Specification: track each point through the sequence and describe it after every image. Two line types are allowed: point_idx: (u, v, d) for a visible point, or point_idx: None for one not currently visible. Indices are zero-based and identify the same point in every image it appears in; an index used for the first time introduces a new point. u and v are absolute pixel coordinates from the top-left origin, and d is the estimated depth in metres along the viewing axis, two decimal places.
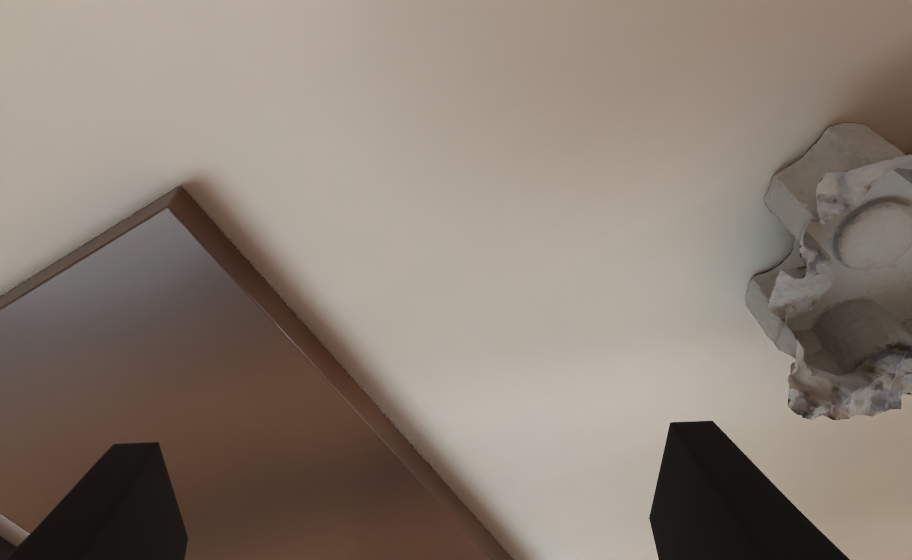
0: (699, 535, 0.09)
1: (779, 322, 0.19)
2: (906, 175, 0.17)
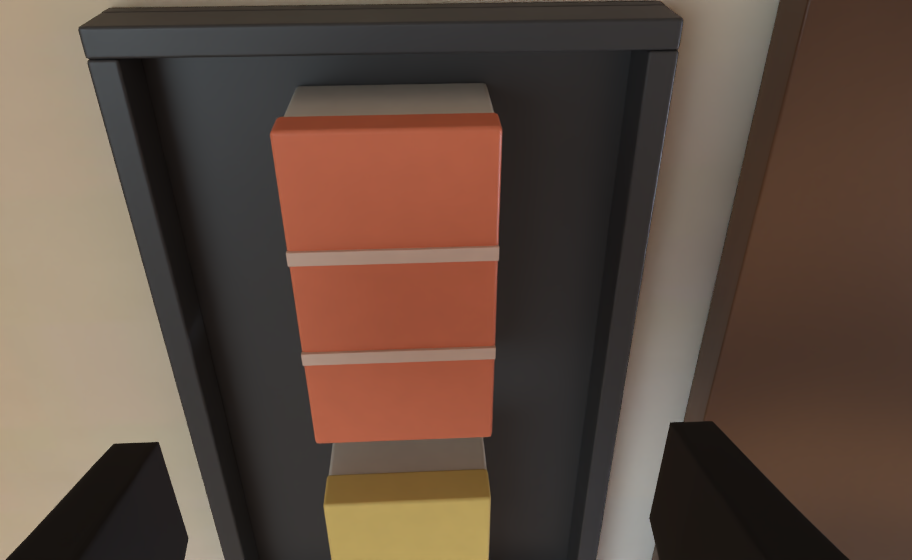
0: (700, 535, 0.09)
1: None
2: None
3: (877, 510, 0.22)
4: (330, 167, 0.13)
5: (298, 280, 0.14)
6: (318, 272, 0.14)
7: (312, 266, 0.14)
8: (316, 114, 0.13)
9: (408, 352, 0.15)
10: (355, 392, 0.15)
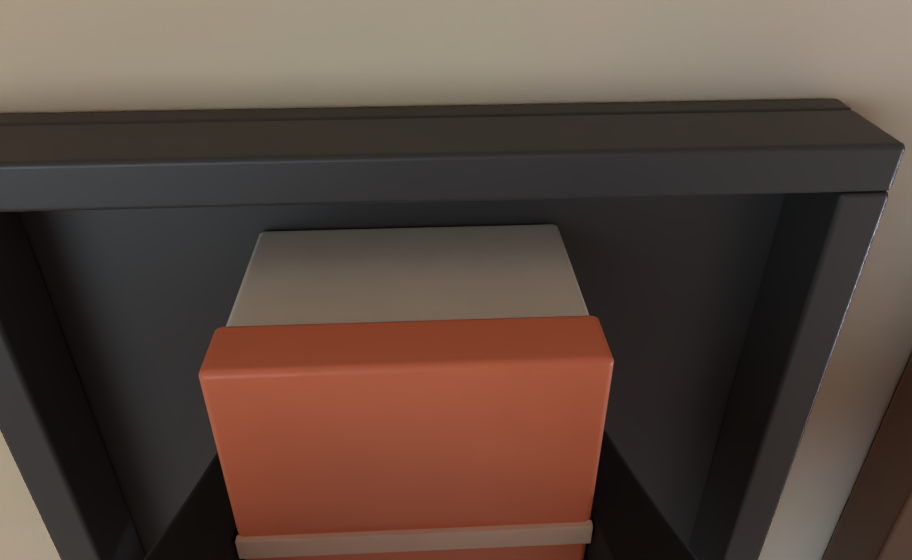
0: None
1: None
2: None
3: None
4: (308, 423, 0.07)
5: None
6: None
7: (283, 555, 0.08)
8: (287, 306, 0.08)
9: None
10: None
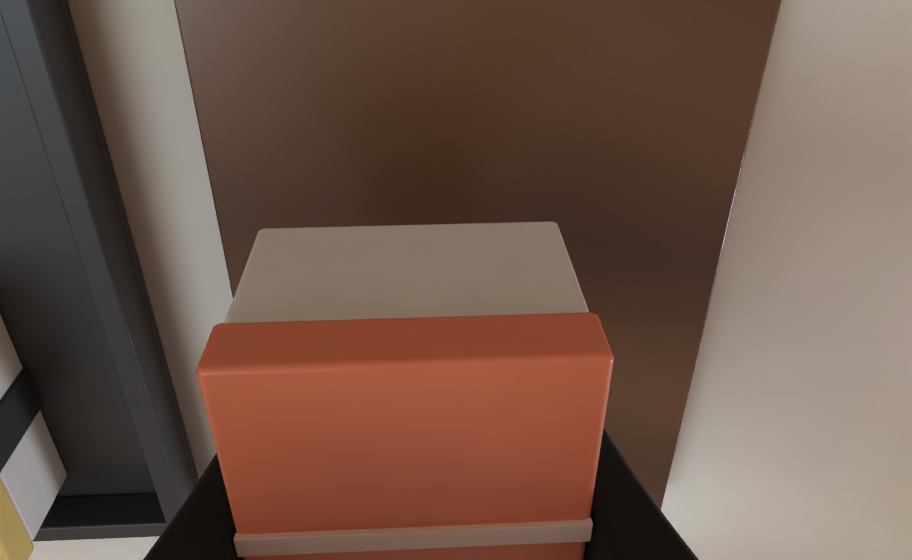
0: None
1: None
2: None
3: None
4: (306, 420, 0.07)
5: None
6: None
7: (280, 552, 0.08)
8: (285, 303, 0.08)
9: None
10: None
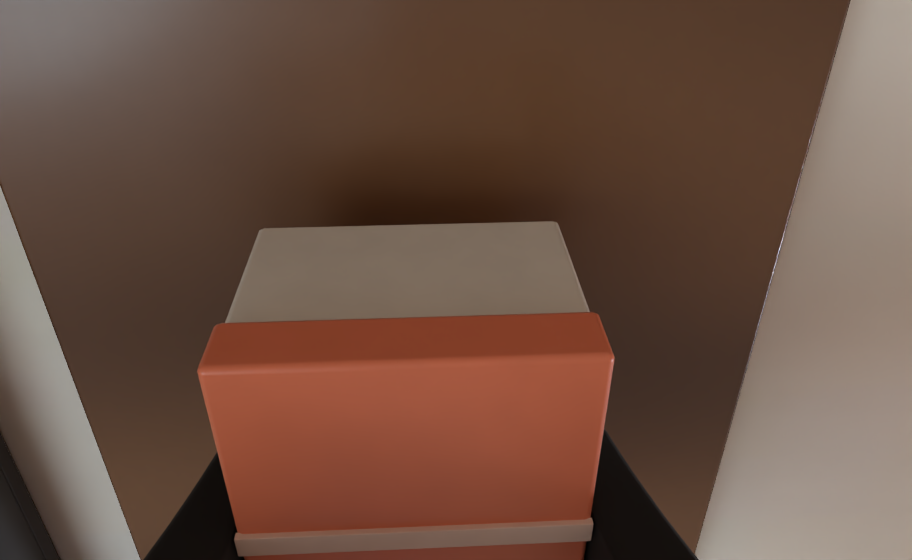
0: None
1: None
2: None
3: None
4: (308, 420, 0.07)
5: None
6: None
7: (281, 552, 0.08)
8: (286, 302, 0.08)
9: None
10: None
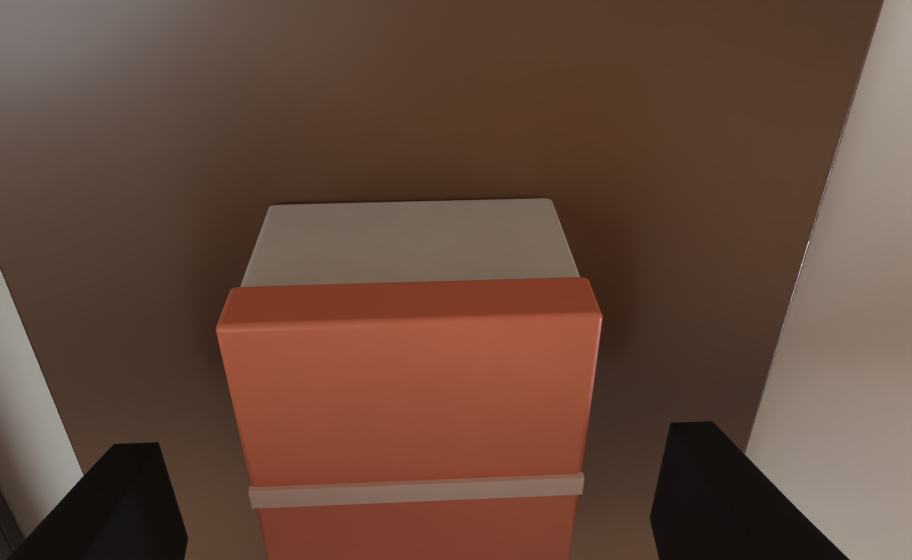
0: (699, 534, 0.09)
1: None
2: None
3: None
4: (318, 376, 0.08)
5: (269, 523, 0.09)
6: (300, 513, 0.09)
7: (292, 505, 0.09)
8: (296, 270, 0.09)
9: None
10: None
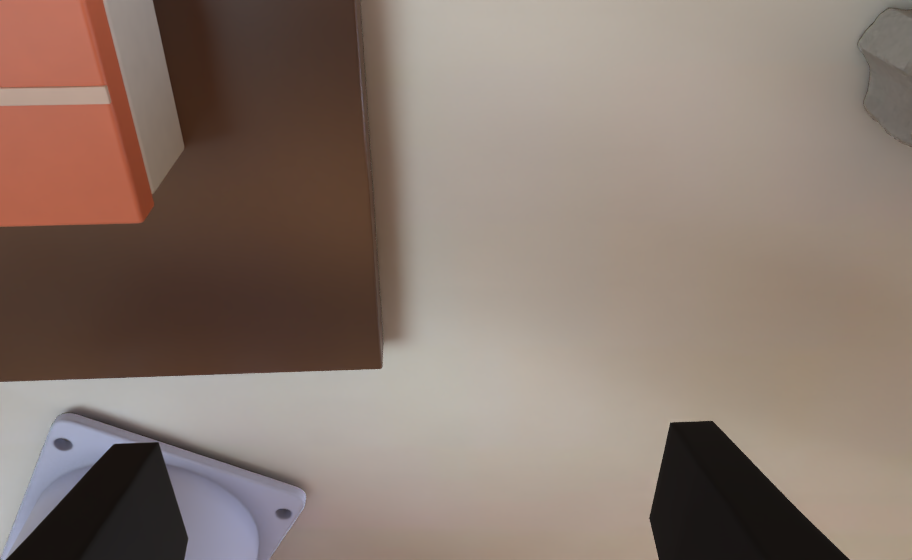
0: (699, 535, 0.09)
1: None
2: None
3: None
4: None
5: None
6: None
7: None
8: None
9: None
10: None
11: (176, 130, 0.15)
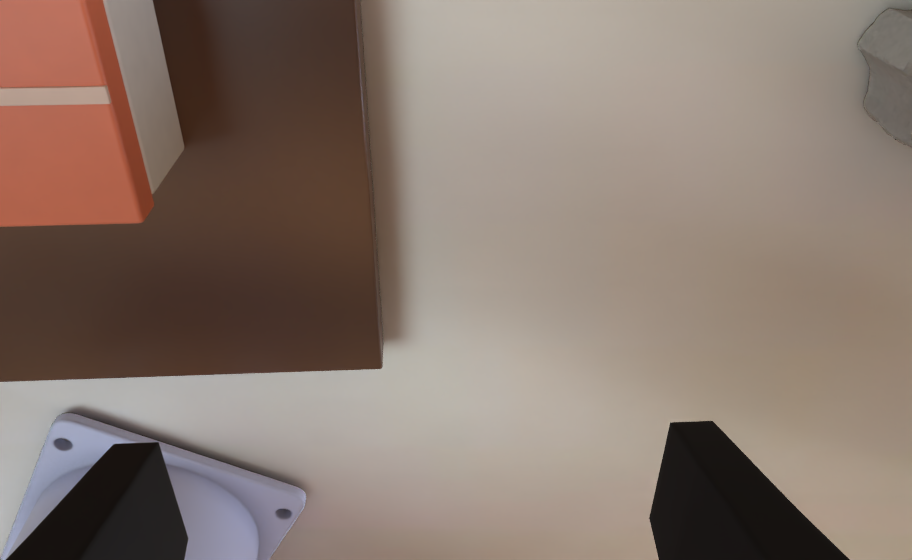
0: (699, 535, 0.09)
1: None
2: None
3: None
4: None
5: None
6: None
7: None
8: None
9: None
10: None
11: (176, 130, 0.15)
